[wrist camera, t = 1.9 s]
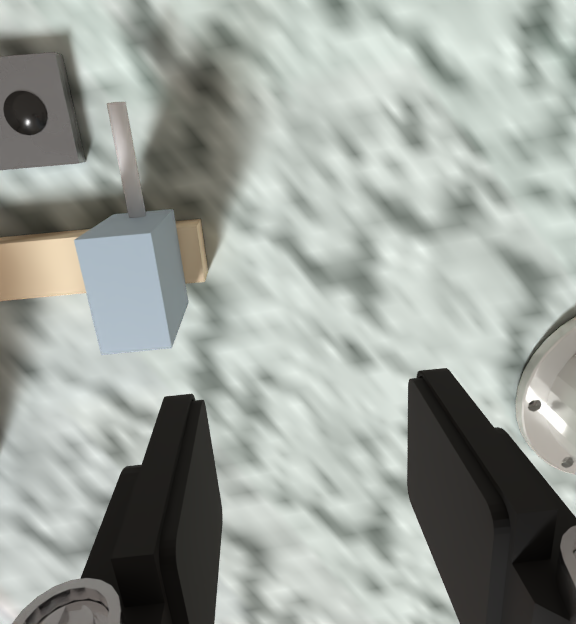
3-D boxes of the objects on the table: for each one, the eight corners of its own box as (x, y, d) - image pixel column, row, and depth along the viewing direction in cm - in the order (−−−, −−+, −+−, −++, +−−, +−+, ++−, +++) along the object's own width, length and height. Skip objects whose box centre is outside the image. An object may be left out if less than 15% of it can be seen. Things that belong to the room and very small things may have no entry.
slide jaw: (156, 101, 23) (125, 94, 18) (188, 302, 27) (171, 347, 21) (90, 106, 23) (40, 101, 18) (132, 307, 27) (101, 354, 21)
